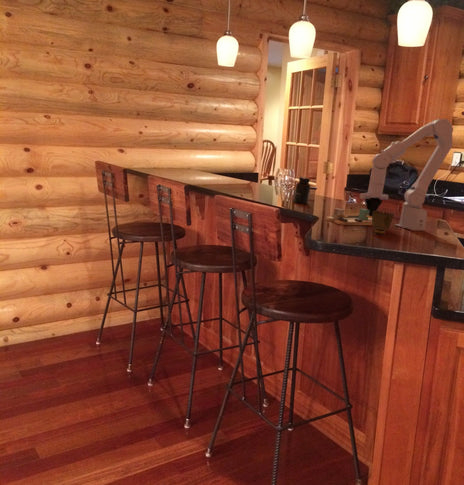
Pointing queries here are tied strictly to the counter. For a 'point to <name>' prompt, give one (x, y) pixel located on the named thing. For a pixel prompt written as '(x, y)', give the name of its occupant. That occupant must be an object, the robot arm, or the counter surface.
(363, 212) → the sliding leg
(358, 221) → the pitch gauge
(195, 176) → the counter surface
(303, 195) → the supplement bottle
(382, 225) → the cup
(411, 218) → the robot arm
